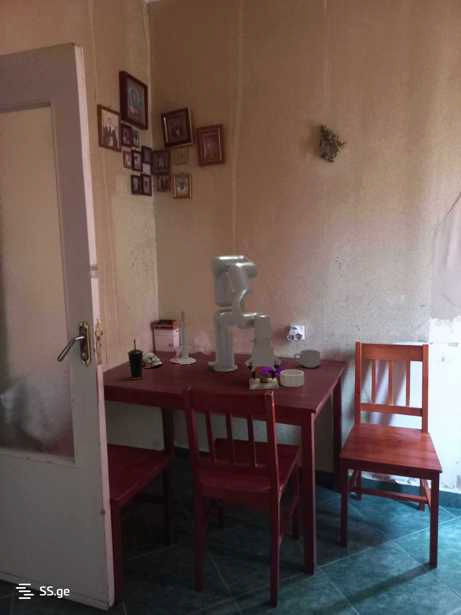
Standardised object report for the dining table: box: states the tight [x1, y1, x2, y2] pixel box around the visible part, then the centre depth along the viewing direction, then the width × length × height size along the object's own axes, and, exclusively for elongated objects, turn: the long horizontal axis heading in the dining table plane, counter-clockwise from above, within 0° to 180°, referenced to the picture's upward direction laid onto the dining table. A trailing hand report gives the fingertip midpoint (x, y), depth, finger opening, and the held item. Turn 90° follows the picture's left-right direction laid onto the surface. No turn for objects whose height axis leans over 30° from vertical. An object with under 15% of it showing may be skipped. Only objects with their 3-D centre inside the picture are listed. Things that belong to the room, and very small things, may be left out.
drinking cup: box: [127, 339, 144, 379], centre depth 231 cm, size 8×8×20 cm
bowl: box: [279, 369, 305, 388], centre depth 211 cm, size 10×10×6 cm
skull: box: [142, 352, 163, 366], centre depth 256 cm, size 12×10×10 cm
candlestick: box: [176, 310, 197, 364], centre depth 258 cm, size 13×13×30 cm
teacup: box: [293, 348, 322, 369], centre depth 242 cm, size 14×11×8 cm
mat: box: [248, 379, 280, 390], centre depth 212 cm, size 13×13×1 cm
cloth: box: [259, 362, 293, 377], centre depth 231 cm, size 22×19×6 cm
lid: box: [249, 371, 279, 390], centre depth 211 cm, size 12×12×5 cm
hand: (263, 378), depth 211 cm, fingers open, 7 cm apart
